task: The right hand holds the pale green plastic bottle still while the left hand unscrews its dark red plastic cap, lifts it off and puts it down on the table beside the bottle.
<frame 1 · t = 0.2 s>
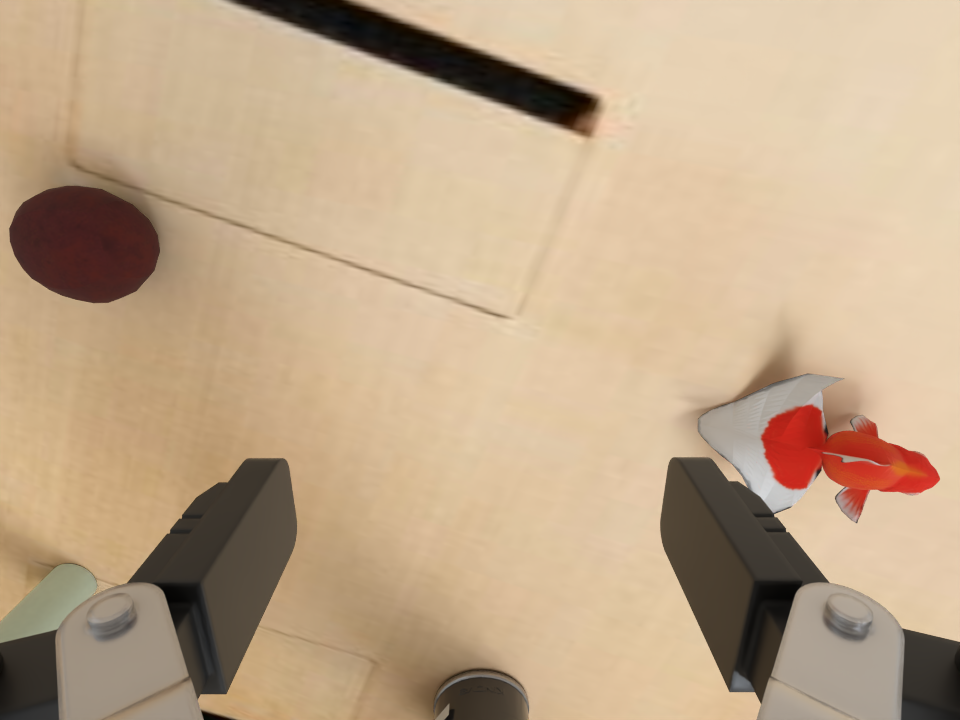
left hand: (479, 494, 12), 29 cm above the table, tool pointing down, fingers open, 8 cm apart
fish: (781, 427, 44), on the table
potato: (125, 237, 39), on the table
bottle: (74, 581, 50), on the table
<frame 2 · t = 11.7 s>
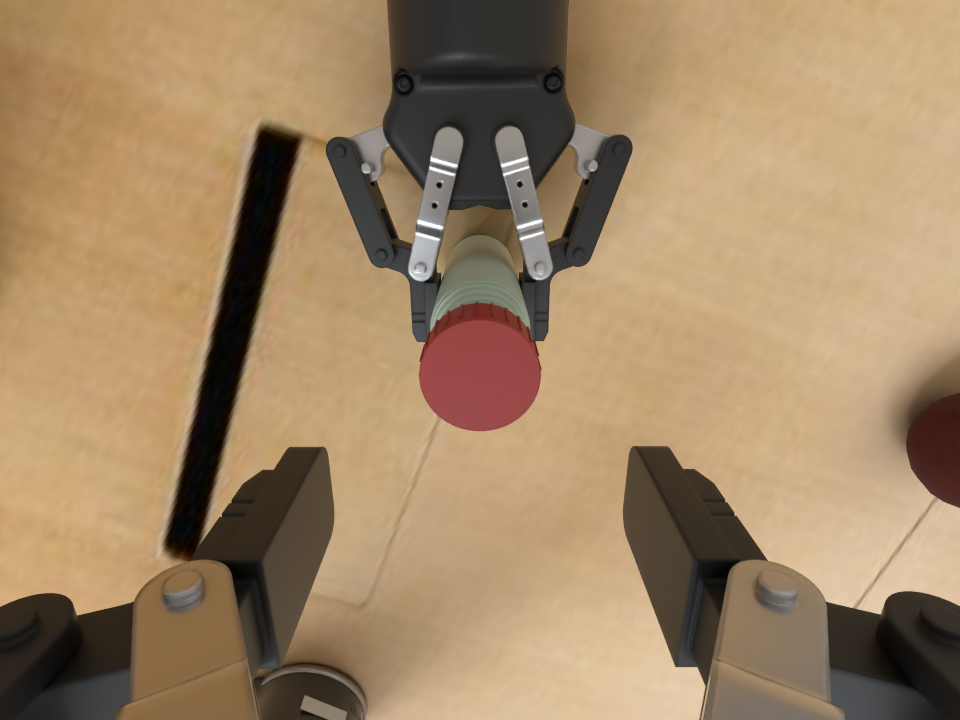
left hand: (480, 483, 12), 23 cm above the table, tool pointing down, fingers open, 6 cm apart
right hand: (481, 346, 28), fingers closed on bottle, 4 cm apart
cap: (480, 374, 18), point 17 cm above the table, screwed on, not yet turned
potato: (936, 426, 37), on the table
bottle: (480, 268, 33), on the table, touching right hand
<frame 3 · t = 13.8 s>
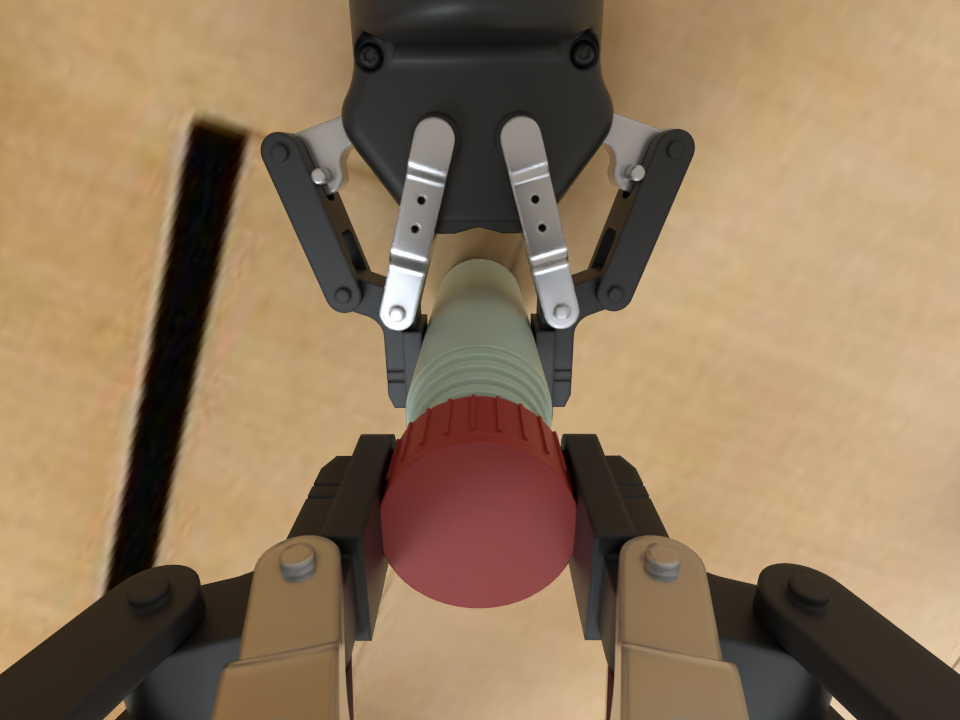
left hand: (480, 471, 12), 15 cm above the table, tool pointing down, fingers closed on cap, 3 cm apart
right hand: (480, 411, 21), fingers closed on bottle, 4 cm apart
cap: (478, 521, 11), point 17 cm above the table, screwed on, not yet turned, touching left hand
bottle: (479, 300, 26), on the table, touching right hand
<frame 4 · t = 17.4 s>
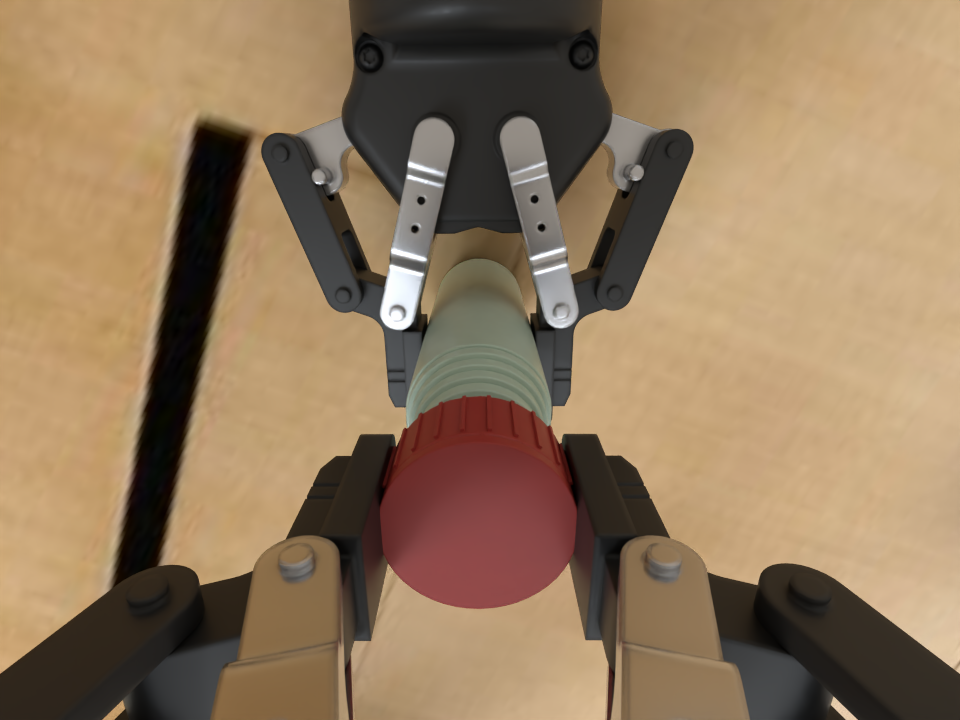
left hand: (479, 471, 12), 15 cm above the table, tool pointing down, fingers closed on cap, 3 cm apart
right hand: (480, 410, 22), fingers closed on bottle, 4 cm apart
cap: (478, 521, 11), point 17 cm above the table, turned 80° so far, risen 0.1 cm, still on its thread, touching left hand
bottle: (479, 300, 27), on the table, touching right hand
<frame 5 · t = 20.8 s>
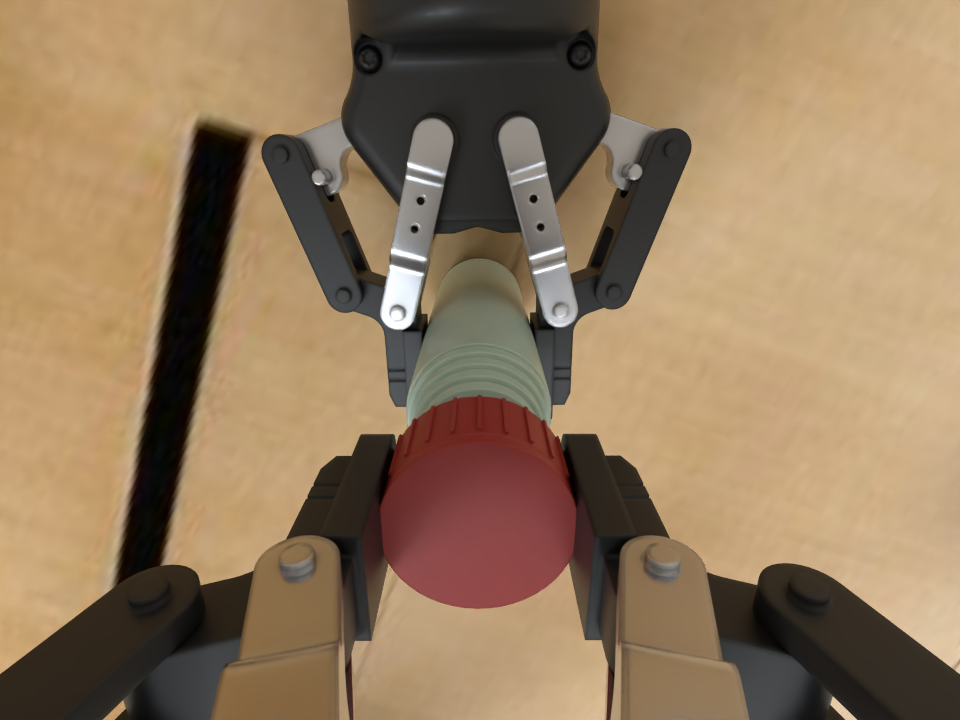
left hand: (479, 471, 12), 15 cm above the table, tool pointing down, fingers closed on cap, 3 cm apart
right hand: (481, 409, 22), fingers closed on bottle, 4 cm apart
cap: (478, 521, 11), point 17 cm above the table, turned 161° so far, risen 0.2 cm, still on its thread, touching left hand
bottle: (479, 299, 27), on the table, touching right hand
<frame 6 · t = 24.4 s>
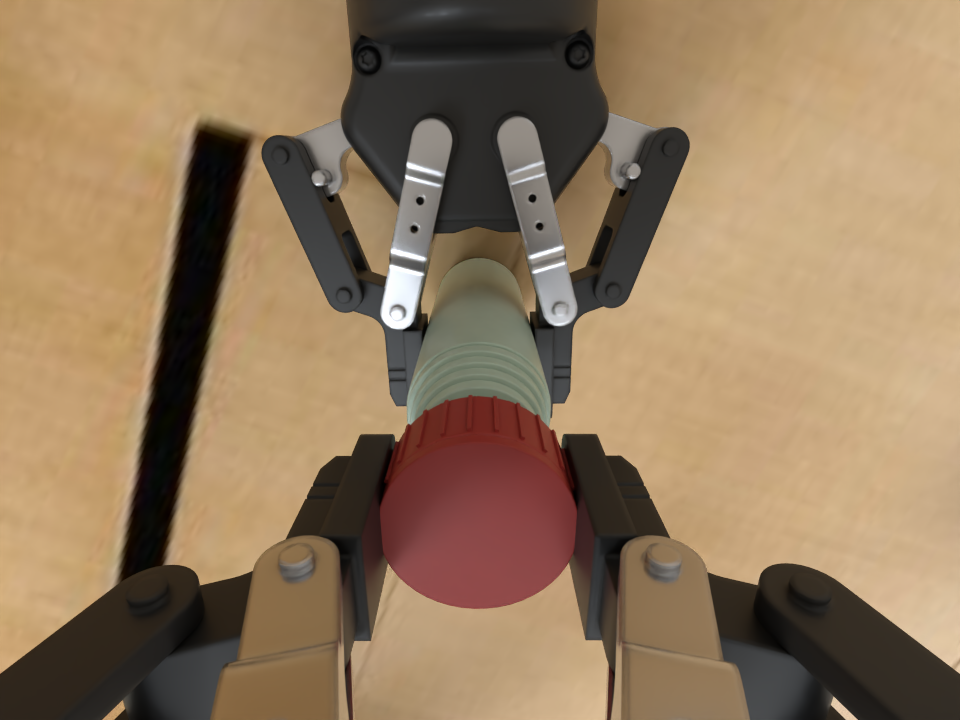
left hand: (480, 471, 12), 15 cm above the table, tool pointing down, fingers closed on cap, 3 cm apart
right hand: (481, 408, 22), fingers closed on bottle, 4 cm apart
cap: (478, 521, 11), point 17 cm above the table, turned 241° so far, risen 0.2 cm, still on its thread, touching left hand
bottle: (479, 299, 27), on the table, touching right hand
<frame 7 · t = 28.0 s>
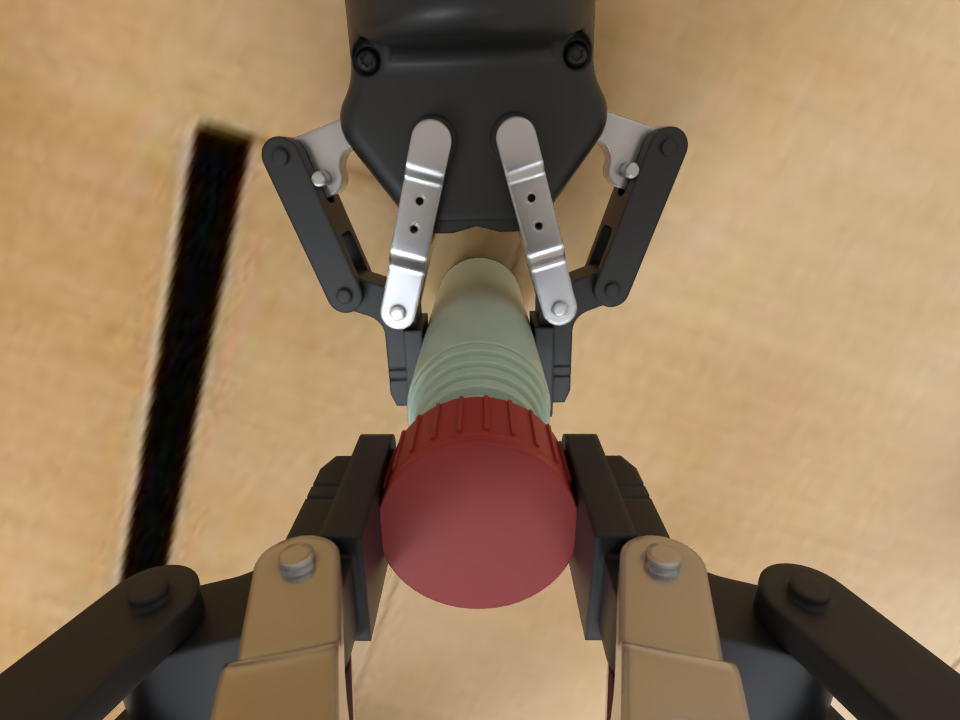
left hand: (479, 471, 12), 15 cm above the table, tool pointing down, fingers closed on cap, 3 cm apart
right hand: (481, 407, 22), fingers closed on bottle, 4 cm apart
cap: (478, 521, 11), point 17 cm above the table, turned 322° so far, risen 0.3 cm, still on its thread, touching left hand
bottle: (479, 299, 27), on the table, touching right hand
when the left hand's fingers open (1 cm above the table, at t = 35.0 s): cap drops 1 cm, point 2 cm above the table.
when the right hand's fingers open (6 cm above the table, at t = 36.1 s): bottle stays where it is, on the table.
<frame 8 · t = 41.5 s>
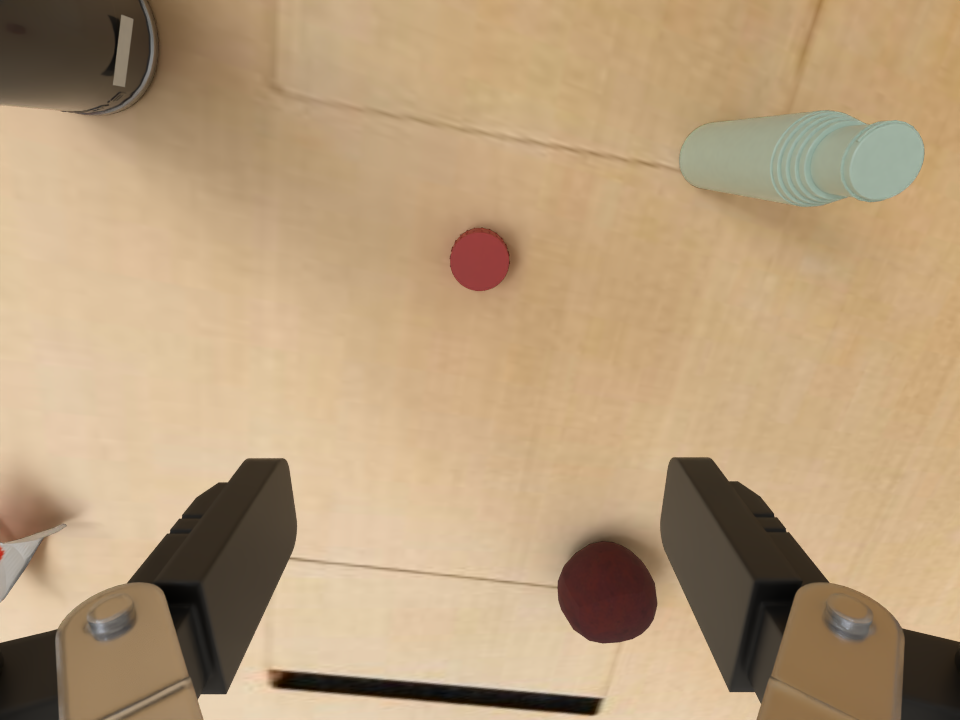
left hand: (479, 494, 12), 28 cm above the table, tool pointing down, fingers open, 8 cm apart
cap: (479, 261, 36), point 2 cm above the table, off its thread
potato: (596, 559, 47), on the table
bottle: (710, 156, 36), on the table
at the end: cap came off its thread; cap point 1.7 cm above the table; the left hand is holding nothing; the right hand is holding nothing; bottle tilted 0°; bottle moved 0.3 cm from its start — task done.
